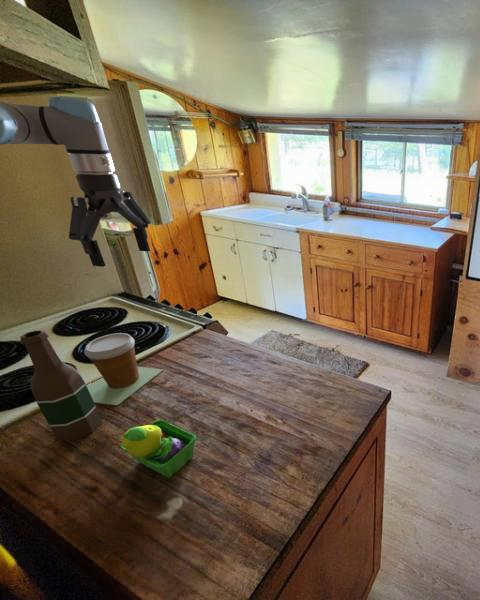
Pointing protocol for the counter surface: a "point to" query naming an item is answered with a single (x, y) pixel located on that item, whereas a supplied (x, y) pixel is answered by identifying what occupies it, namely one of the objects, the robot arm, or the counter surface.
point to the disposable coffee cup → (114, 359)
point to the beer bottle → (60, 391)
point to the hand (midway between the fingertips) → (123, 258)
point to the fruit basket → (160, 446)
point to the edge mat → (116, 396)
